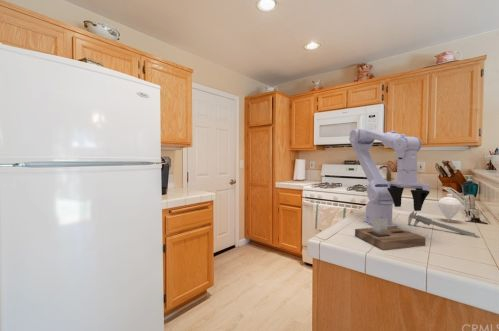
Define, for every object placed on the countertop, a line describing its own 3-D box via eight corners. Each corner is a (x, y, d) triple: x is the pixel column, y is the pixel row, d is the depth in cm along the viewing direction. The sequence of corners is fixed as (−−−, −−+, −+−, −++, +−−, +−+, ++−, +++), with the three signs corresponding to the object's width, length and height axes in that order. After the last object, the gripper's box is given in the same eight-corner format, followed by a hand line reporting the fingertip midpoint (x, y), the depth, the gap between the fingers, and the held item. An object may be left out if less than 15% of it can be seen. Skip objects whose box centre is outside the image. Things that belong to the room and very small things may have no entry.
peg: (371, 240, 73) (372, 216, 73) (379, 239, 74) (380, 215, 74) (379, 243, 71) (380, 218, 70) (386, 242, 71) (387, 218, 71)
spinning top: (466, 224, 91) (467, 195, 91) (448, 224, 91) (449, 195, 91) (449, 219, 99) (450, 192, 99) (432, 219, 99) (433, 192, 98)
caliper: (408, 225, 90) (408, 210, 90) (408, 225, 91) (409, 210, 91) (480, 238, 76) (481, 220, 76) (479, 237, 77) (480, 220, 77)
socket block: (354, 236, 77) (355, 228, 77) (392, 232, 81) (392, 225, 81) (383, 250, 66) (383, 241, 65) (425, 245, 69) (425, 237, 69)
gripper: (381, 170, 84) (381, 205, 84) (418, 170, 70) (418, 213, 70) (396, 169, 86) (396, 204, 86) (435, 170, 72) (435, 212, 72)
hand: (407, 208), depth 78 cm, fingers open, 7 cm apart
